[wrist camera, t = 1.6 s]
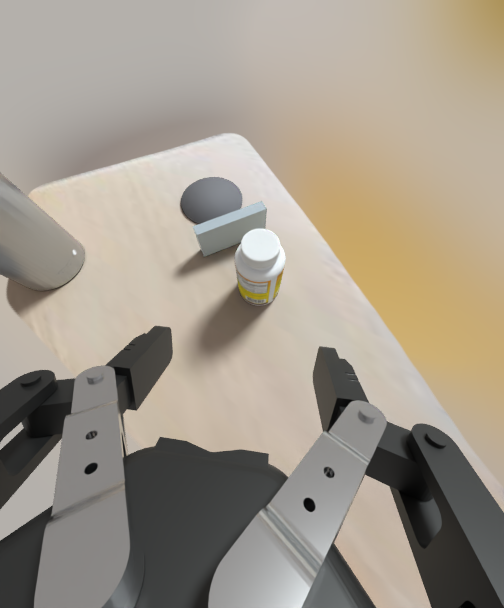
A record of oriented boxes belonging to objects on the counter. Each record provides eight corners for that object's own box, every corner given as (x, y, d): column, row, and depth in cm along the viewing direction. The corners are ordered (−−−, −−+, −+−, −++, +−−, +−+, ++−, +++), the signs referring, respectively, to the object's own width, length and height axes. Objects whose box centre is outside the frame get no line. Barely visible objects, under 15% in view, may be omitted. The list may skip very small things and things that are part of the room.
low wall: (204, 256, 34) (196, 235, 30) (200, 249, 35) (192, 226, 30) (265, 233, 36) (266, 208, 31) (260, 226, 36) (261, 201, 32)
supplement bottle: (266, 265, 34) (271, 213, 24) (285, 296, 32) (299, 254, 22) (232, 280, 33) (223, 234, 23) (249, 314, 31) (248, 277, 21)
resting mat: (171, 216, 37) (170, 215, 37) (195, 173, 40) (195, 171, 40) (230, 231, 36) (230, 230, 36) (250, 185, 39) (250, 184, 39)
